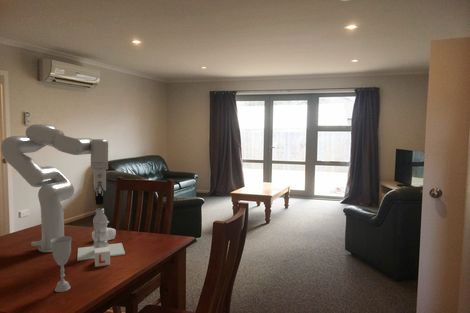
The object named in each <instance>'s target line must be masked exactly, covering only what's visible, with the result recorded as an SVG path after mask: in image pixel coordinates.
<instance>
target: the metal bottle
mask: <svg viewBox="0 0 470 313" xmlns="http://www.w3.org/2000/svg"><path fill="white" fill-rule="evenodd" d="M95 213H96V214H95V215H94V216H93V220H92V223H93V231H95V232H94V233H95V237H94V240H93V246H94V249H95V248H102V247H108V244H109V242H108V241H107V234H106V230H107V228H108V223H107V221H108V217H107V216H106V214H105V208H103V207H97V208H95Z"/></svg>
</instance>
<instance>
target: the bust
mask: <svg viewBox="0 0 470 313" xmlns="http://www.w3.org/2000/svg"><path fill="white" fill-rule="evenodd" d="M109 223H110V221H109V220H107V224H109ZM94 232H95V231H94V230H92V232H91V237H92V240H93V241H94V237H95V233H94ZM116 232H117V230H116V229H115V228H112V227H107V230H106V234H107V241H111V240H113V239H115V238H116Z"/></svg>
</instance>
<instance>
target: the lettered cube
mask: <svg viewBox="0 0 470 313" xmlns="http://www.w3.org/2000/svg"><path fill="white" fill-rule="evenodd" d="M108 265H109V266H111V256H110V248H109V247H102V248H95V259H94V267H95V268H96V267H102V266H103V267H104V266H108Z"/></svg>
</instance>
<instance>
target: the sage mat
mask: <svg viewBox="0 0 470 313" xmlns="http://www.w3.org/2000/svg"><path fill="white" fill-rule="evenodd" d="M108 247H109V248H110V257H115V256H116V257H117V256H122V255H123V256H125V255H126V251H125V249H124V246H123V243H122V242H119V243H108ZM76 259H77V262H78V261H86V260H93V259H94V260H95V249H94V245H91V246H85V247H84V246H83V247H78V248H77V257H76Z"/></svg>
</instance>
